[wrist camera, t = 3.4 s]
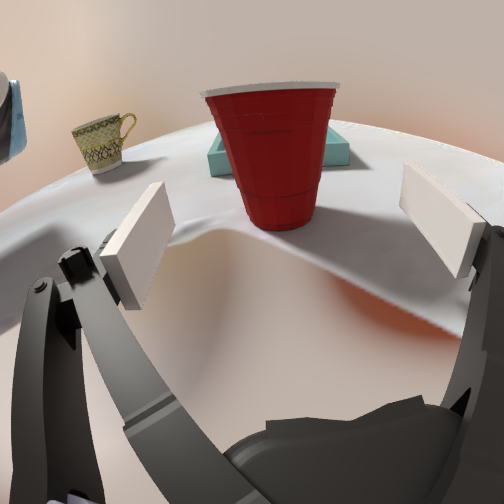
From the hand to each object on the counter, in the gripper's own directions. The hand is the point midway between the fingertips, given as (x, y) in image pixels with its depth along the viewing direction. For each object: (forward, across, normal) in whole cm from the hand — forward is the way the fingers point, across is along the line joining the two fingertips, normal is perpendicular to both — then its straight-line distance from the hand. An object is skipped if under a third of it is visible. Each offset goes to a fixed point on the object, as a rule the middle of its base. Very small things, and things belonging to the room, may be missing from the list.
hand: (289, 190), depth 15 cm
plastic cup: (+10, 0, -7) cm, 12 cm away
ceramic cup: (+38, -30, -7) cm, 49 cm away
